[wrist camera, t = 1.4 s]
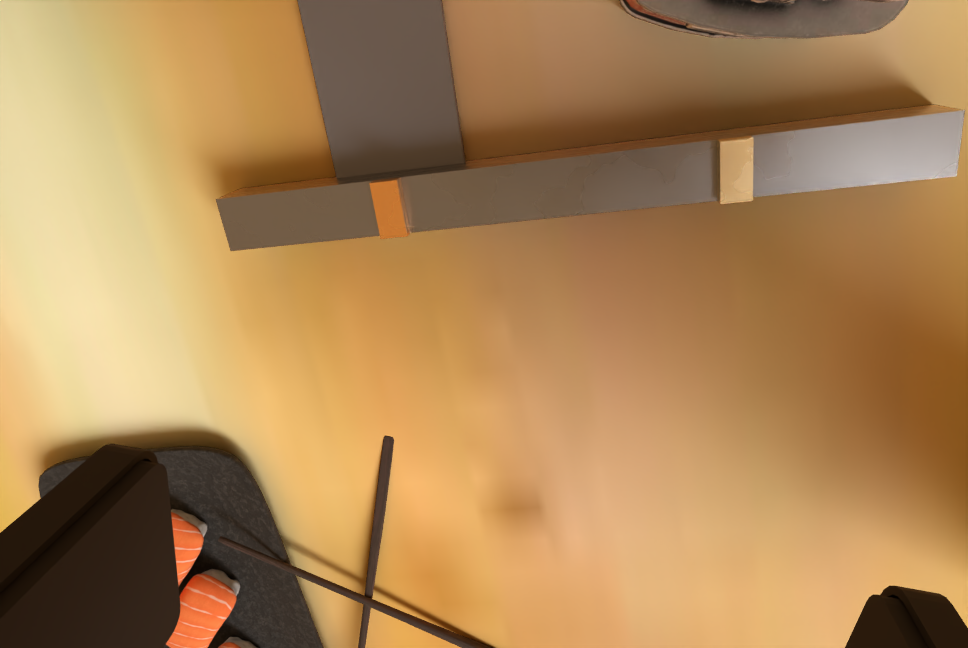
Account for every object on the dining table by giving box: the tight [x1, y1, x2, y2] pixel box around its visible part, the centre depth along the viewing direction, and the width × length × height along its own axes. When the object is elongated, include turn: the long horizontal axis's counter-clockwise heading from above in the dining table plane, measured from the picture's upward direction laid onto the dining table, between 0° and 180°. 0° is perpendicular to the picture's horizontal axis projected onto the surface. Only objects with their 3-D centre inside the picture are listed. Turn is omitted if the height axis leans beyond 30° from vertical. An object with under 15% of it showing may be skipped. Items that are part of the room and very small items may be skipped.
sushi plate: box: [39, 435, 491, 648], centre depth 41 cm, size 29×30×4 cm
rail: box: [216, 104, 965, 251], centre depth 28 cm, size 30×2×3 cm, turn 98°
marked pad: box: [297, 0, 465, 178], centre depth 28 cm, size 6×11×1 cm, turn 8°
